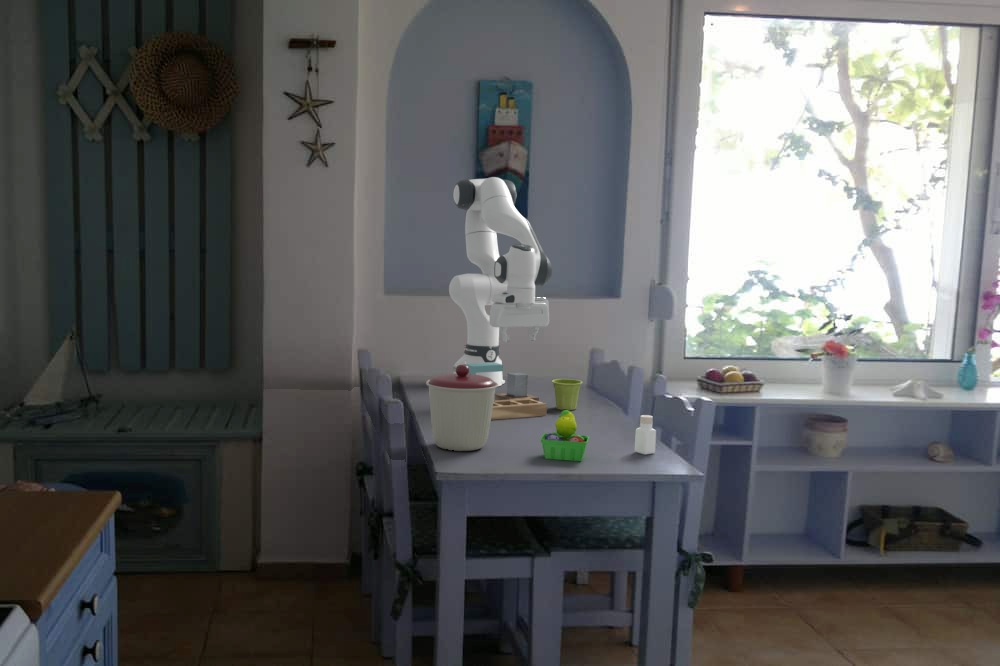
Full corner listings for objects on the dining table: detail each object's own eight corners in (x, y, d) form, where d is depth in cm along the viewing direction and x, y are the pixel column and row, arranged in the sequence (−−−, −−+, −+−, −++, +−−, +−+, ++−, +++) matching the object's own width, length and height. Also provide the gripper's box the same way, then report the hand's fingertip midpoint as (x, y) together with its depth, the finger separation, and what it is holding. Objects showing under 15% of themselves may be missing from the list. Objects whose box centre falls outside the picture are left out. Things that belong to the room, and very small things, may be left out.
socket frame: (521, 401, 315) (521, 392, 315) (538, 407, 306) (538, 397, 306) (447, 406, 301) (447, 397, 301) (462, 412, 293) (462, 402, 292)
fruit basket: (539, 459, 238) (540, 413, 237) (543, 451, 247) (545, 407, 246) (585, 463, 236) (588, 417, 235) (589, 455, 245) (591, 410, 244)
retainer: (491, 400, 307) (493, 362, 306) (503, 404, 301) (504, 365, 300) (454, 403, 301) (456, 363, 299) (465, 407, 295) (467, 367, 293)
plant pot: (565, 412, 299) (566, 384, 298) (544, 407, 306) (545, 380, 305) (587, 409, 305) (588, 382, 304) (566, 404, 312) (567, 377, 311)
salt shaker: (644, 450, 252) (646, 414, 251) (655, 453, 249) (658, 416, 248) (633, 452, 250) (635, 415, 249) (644, 455, 247) (646, 418, 246)
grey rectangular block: (506, 404, 309) (507, 373, 308) (518, 403, 311) (520, 372, 310) (514, 407, 305) (515, 375, 304) (526, 406, 307) (527, 374, 306)
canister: (510, 449, 248) (513, 366, 245) (456, 459, 235) (459, 372, 233) (463, 436, 261) (466, 357, 258) (409, 444, 248) (411, 362, 246)
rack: (465, 414, 291) (466, 402, 291) (528, 409, 302) (528, 398, 302) (482, 420, 282) (482, 408, 282) (546, 415, 294) (546, 403, 293)
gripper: (543, 296, 312) (541, 339, 314) (487, 296, 302) (486, 340, 303) (554, 297, 307) (552, 341, 308) (498, 297, 296) (496, 343, 298)
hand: (519, 341), depth 306 cm, fingers open, 8 cm apart
